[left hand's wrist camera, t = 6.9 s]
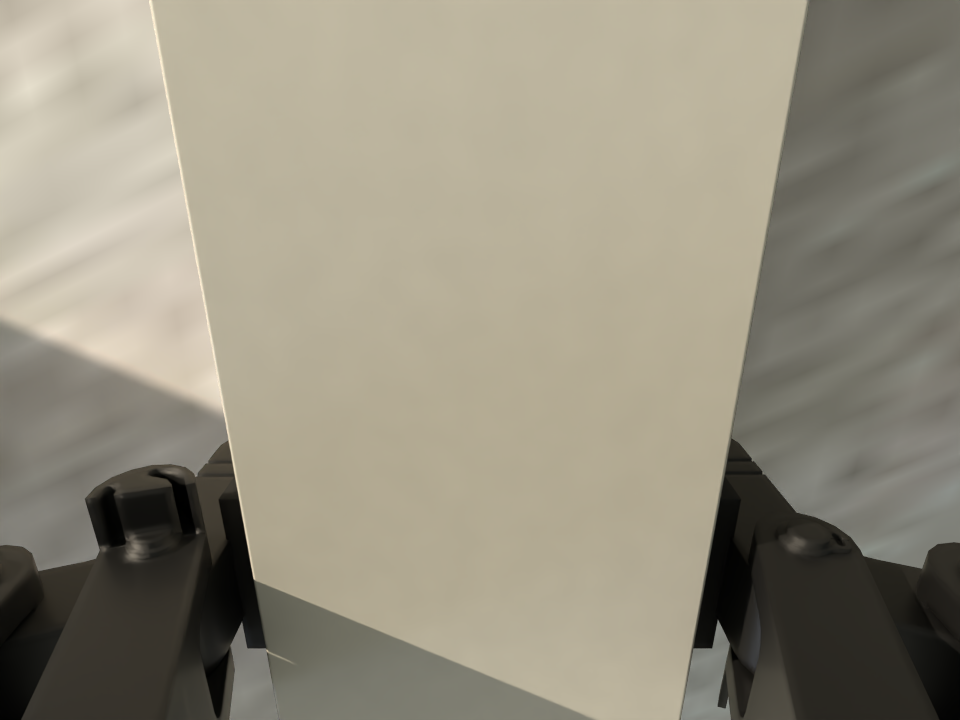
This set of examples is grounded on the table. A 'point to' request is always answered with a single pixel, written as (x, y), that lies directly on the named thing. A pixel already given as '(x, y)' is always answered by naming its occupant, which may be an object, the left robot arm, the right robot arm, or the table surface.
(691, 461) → the bar
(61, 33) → the table surface
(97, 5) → the table surface
